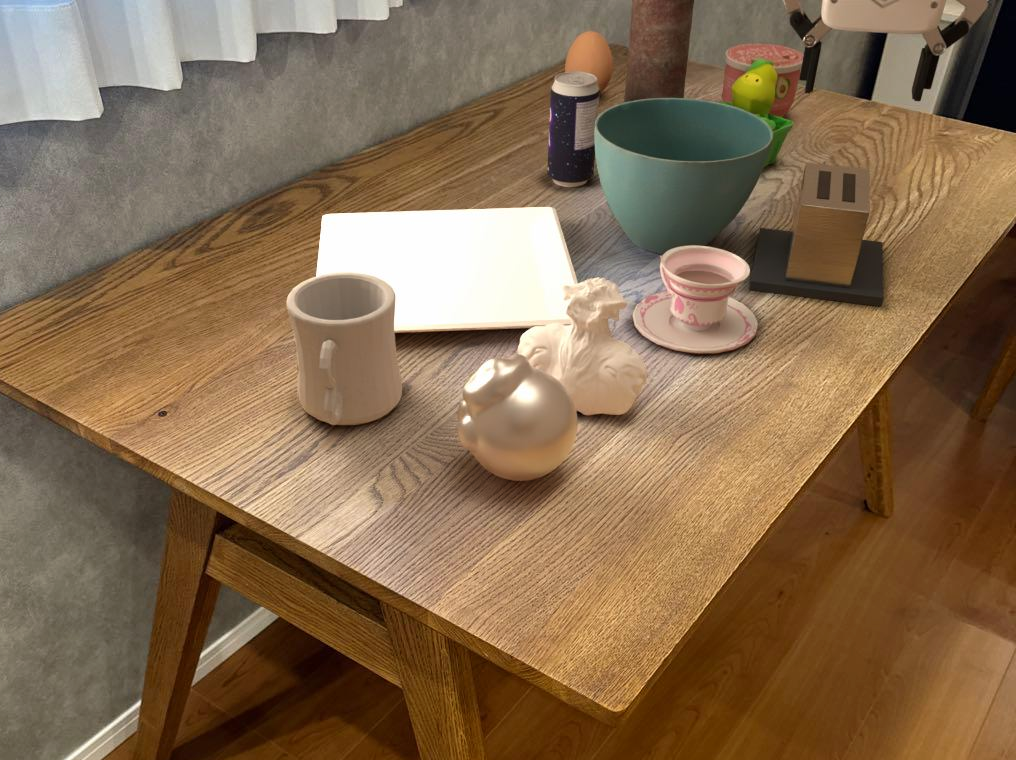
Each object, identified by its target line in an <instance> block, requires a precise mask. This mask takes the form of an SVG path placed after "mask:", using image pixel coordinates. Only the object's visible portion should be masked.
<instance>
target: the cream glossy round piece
mask: <svg viewBox="0 0 1016 760" xmlns="http://www.w3.org/2000/svg"><path fill="white" fill-rule="evenodd" d="M462 398H463V399H462V400H461V401H460V403H459V405H458V407H457V419H458V425H457V436H458V440H459V443H460V444H461V446H462V447H463V448H464V449H466V450H467V451H469V452H470V453H471V454H472V456H473V457H474V458H475V459H476V460H477V462H478V463H479V464H480V465H481V466H482V468H484V469H485V470H486V471H487V472H489V473H490V474H492V475H495V476H497V477H499V478H501V479H505V480H509V481H516V482H525V481H531V480H536V479H539V478H542V477H545V476H546V475H548V474H550V473H551V472H553V471H554V470H556V469H557V468H558V467H559V466H560V465H562V464H563V462H565V460H566V459H567V457H568V456H569V454H570V452H571V451H572V449H573V447H574V445H575V442H576V438H577V433H578V422H579V421H578V412H577V411H576V408H575V405H574V402H573V400H572V398H571V396H570V394H569V392H568V391H567V390H566V388H565V387H564V386H563V385H562V384H561V383H560V382H559V381H558V380H557V379H556V378H554V377H553V376H552V375H550V374H548V373H546V372H544V371H542V370H539V369H536V368H534V367H533V366H531V365H530V363H529V361H528V359H527V358H526V357H525V356H523V355H521V354H518V353H516V354H512V355H506V356H497V357H493V358H490V359H488V360H486V361H485V362H484V363H483V364H482V365H480V367H479V368H478V369H477V370H476V371H475V373H473V374H472V375H471V377H470V378H469V379H468V381H466V383H465V385H464V386H463V388H462Z"/></svg>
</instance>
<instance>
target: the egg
mask: <svg viewBox="0 0 1016 760" xmlns="http://www.w3.org/2000/svg"><path fill="white" fill-rule="evenodd" d="M613 65H614V61H613V54H612V52H611V48H610V46H609V44H608V41H607V40H606V39H605V37H604V36H603V35H601V34H600V32H597V31H595V30H594V31H593V30H588V31H584V32H583V33H581V34H579V35H578V36H577V37H576V38H575V39H574V41H573V42H572V44H571V46H570V48H569V50H568V52H567V55H566V58H565V64H564V72H575V71H577V72H586V73H590V74H593V75H595V76H596V77H597V84H598V87H599V89H600V95H601V94H602V93H603V92H604V91H605V90H606V89H607V87H608V85H609V84H610V82H611V79H612V76H613V69H614V68H613Z"/></svg>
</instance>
